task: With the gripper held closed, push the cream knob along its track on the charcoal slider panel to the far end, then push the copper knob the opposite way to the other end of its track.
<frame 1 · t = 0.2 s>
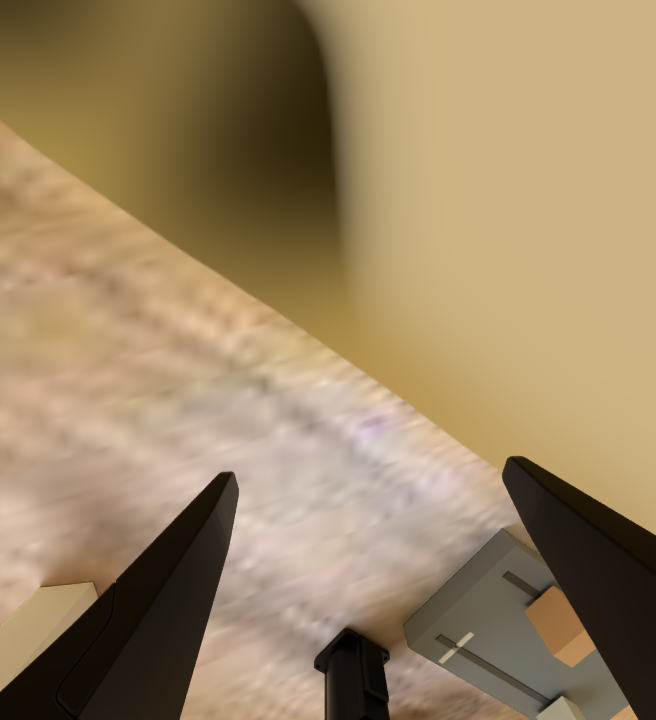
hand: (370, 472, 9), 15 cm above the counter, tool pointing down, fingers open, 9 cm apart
copper slider: (562, 624, 25), point 4 cm above the counter, slide at 15.0 cm
panel: (534, 633, 31), on the counter
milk: (76, 603, 29), on the counter
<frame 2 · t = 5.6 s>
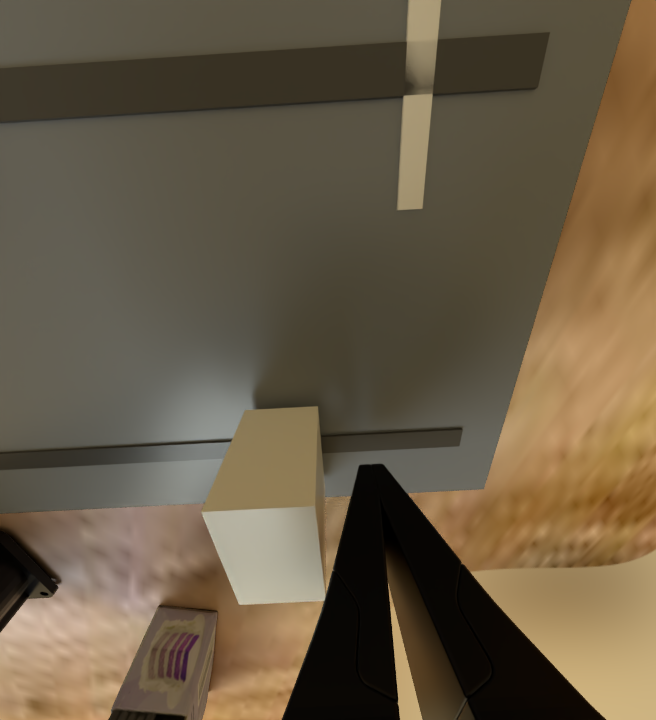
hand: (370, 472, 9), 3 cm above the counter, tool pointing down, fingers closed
panel: (137, 307, 10), on the counter
striped narrow carton: (187, 649, 23), on the counter
cream slider: (281, 497, 8), point 4 cm above the counter, slide at 3.9 cm, touching gripper
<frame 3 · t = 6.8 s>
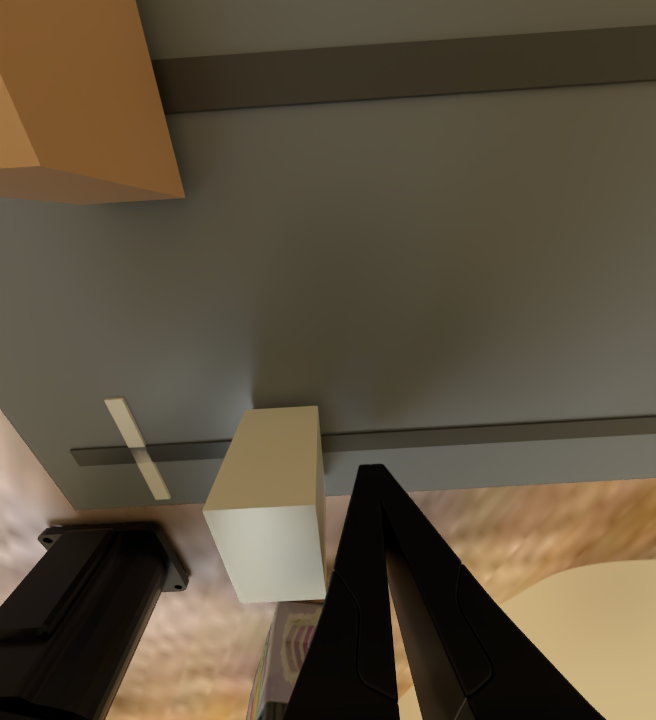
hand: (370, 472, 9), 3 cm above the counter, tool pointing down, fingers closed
panel: (374, 293, 10), on the counter
striped narrow carton: (286, 644, 23), on the counter
cream slider: (282, 496, 8), point 4 cm above the counter, slide at 12.4 cm, touching gripper
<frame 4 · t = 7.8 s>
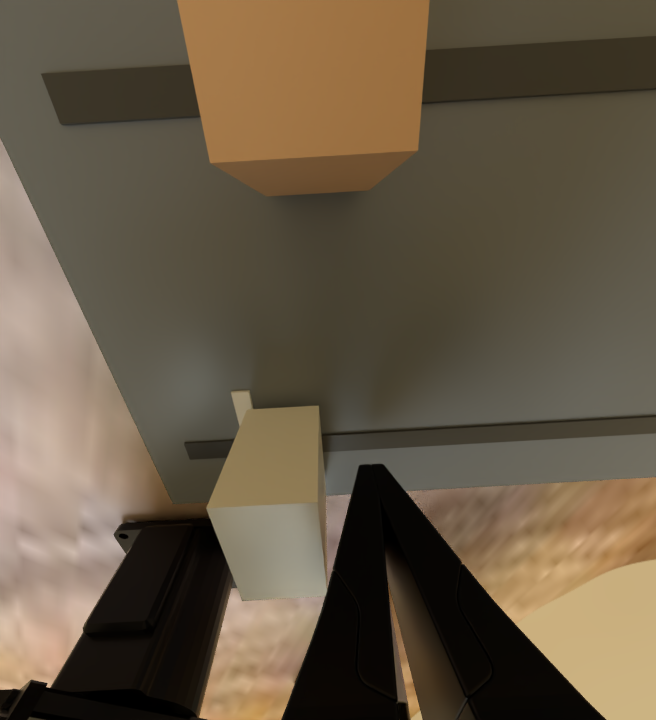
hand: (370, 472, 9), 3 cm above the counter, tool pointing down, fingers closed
copper slider: (306, 12, 4), point 4 cm above the counter, slide at 15.0 cm
panel: (489, 288, 10), on the counter
striped narrow carton: (333, 641, 23), on the counter
cream slider: (283, 495, 8), point 4 cm above the counter, slide at 16.6 cm, touching gripper
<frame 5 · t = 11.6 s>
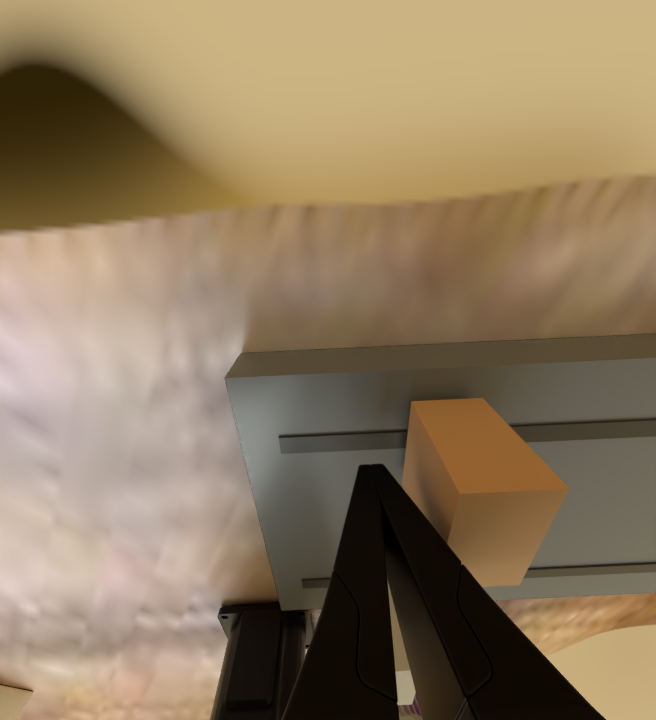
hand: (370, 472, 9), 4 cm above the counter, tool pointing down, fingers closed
copper slider: (460, 485, 8), point 4 cm above the counter, slide at 14.6 cm, touching gripper
panel: (512, 478, 14), on the counter
striped narrow carton: (367, 682, 28), on the counter
cream slider: (379, 632, 13), point 4 cm above the counter, slide at 16.7 cm
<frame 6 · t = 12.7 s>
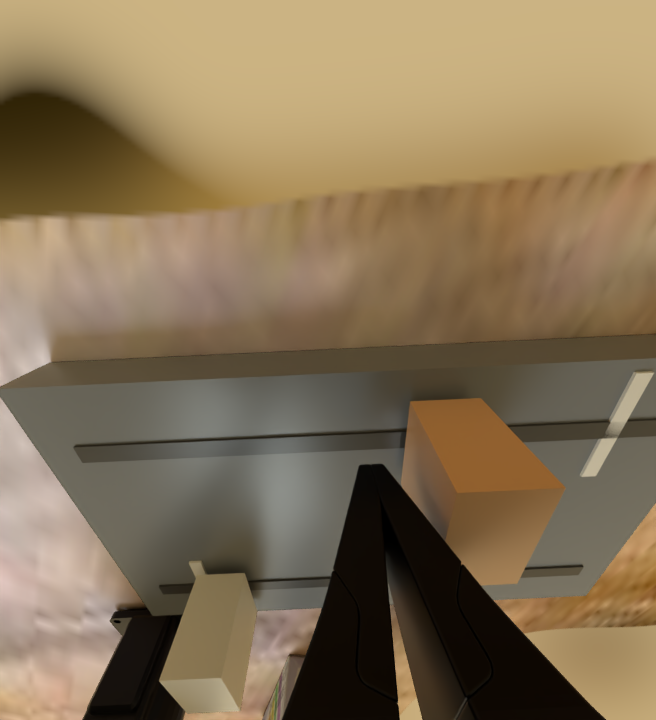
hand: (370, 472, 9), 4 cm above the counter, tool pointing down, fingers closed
copper slider: (459, 484, 8), point 4 cm above the counter, slide at 6.9 cm, touching gripper
panel: (367, 484, 14), on the counter
striped narrow carton: (292, 685, 28), on the counter
cream slider: (217, 639, 13), point 4 cm above the counter, slide at 16.7 cm
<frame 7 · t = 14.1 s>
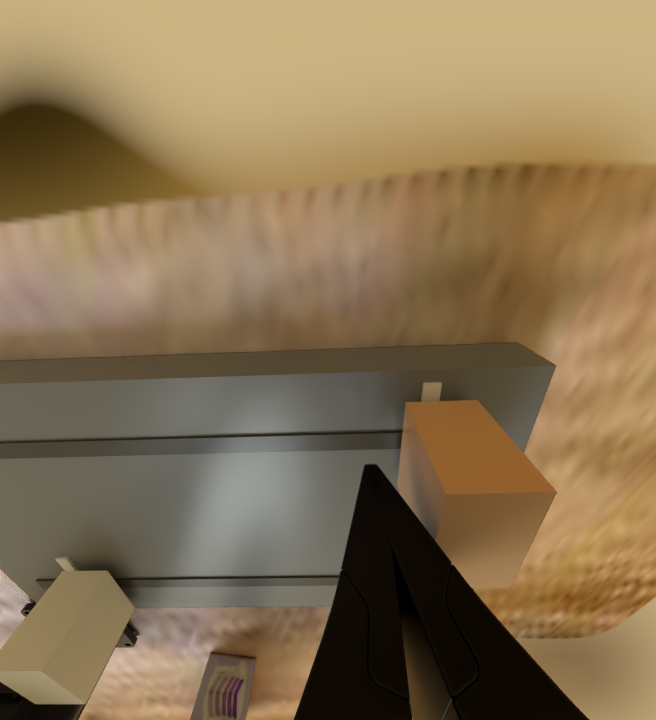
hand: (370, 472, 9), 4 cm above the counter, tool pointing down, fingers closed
copper slider: (453, 486, 8), point 4 cm above the counter, slide at -0.2 cm, touching gripper
panel: (234, 487, 14), on the counter
striped narrow carton: (225, 682, 28), on the counter
cream slider: (73, 634, 13), point 4 cm above the counter, slide at 16.7 cm
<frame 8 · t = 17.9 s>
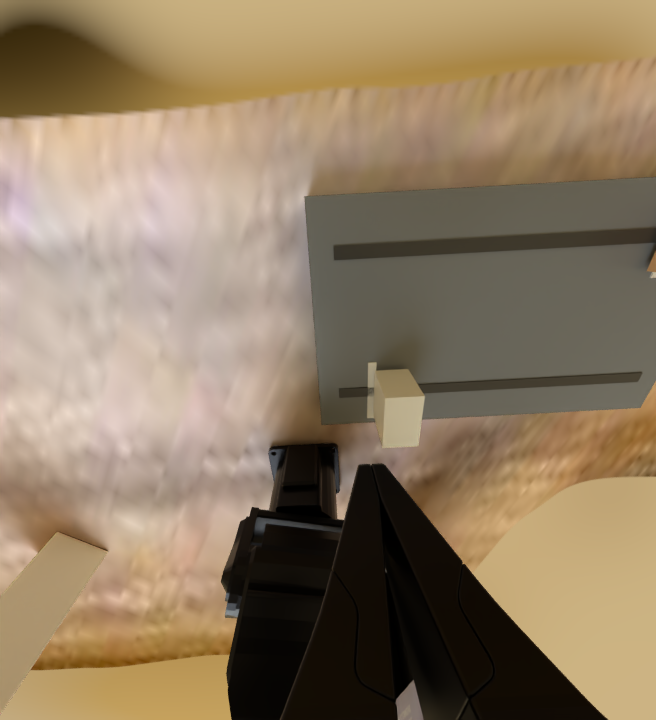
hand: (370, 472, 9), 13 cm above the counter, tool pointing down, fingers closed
panel: (488, 314, 20), on the counter
striped narrow carton: (379, 548, 33), on the counter
cream slider: (395, 407, 18), point 4 cm above the counter, slide at 16.7 cm
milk: (75, 550, 32), on the counter
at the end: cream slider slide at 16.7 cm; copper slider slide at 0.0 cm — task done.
